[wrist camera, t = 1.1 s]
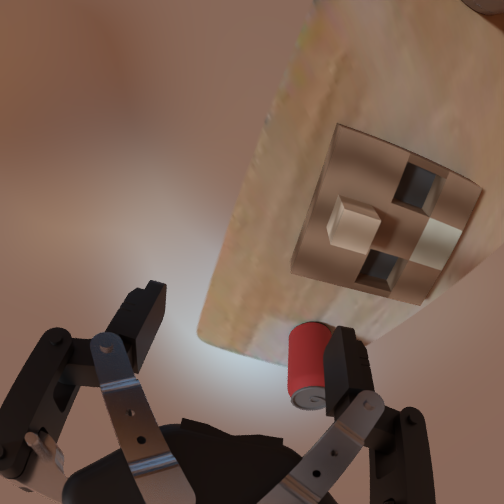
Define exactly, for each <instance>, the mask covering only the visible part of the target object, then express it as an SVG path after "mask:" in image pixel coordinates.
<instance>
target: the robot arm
mask: <svg viewBox="0 0 504 504" xmlns="http://www.w3.org/2000/svg"><path fill="white" fill-rule="evenodd" d="M462 1H463V2H464V3H465V4H466V5H468V6H469V7H470V8H472V9H473V10H475V11H477V12H479V13H482V14H486V15H493V14H499V13H504V0H462ZM166 286H167V285H166V284H164V283H161V282H157V281H153V280H150V281H149V283H148V284H147V286H146V288H145V289H140V288H136V289H134V290H133V291H131V292H130V293H129V294H128V295H127V297H126V299H125V300H124V303H122V305H121V306H120V309H119V310H118V311H117V313H116V314H115V316H114V318H113V319H112V321H111V322H110V324H109V326H108V327H107V329H106V331H105V332H102V333H99V334H97V335H95V336H94V337H93V338H92V339H79V338H72V337H71V334H70V333H69V332H68V331H67V330H66V329H63V328H58V327H56V328H52V329H49V330H47V331H46V332H45V333H44V334H43V335H42V337H41V338H40V340H39V342H38V343H37V345H36V346H35V348H34V350H33V351H32V353H31V355H30V356H29V358H28V360H27V361H26V363H25V365H24V366H23V368H22V370H21V371H20V373H19V375H18V377H17V378H16V380H15V382H14V384H13V385H12V387H11V389H10V391H9V393H8V395H7V397H6V399H5V400H4V402H3V404H2V406H1V408H0V475H1V476H2V477H3V478H5V479H6V480H8V481H9V482H11V483H12V484H13V485H15V486H18V487H19V488H21V489H22V490H24V491H27V492H36V493H38V494H40V495H42V496H44V497H46V498H48V499H50V500H52V501H54V502H56V503H59V504H338V503H337V502H336V501H335V500H334V498H333V497H332V496H331V494H330V493H329V492H328V491H329V489H330V488H331V487H332V486H333V484H334V483H335V482H336V481H337V480H338V479H339V477H340V476H341V475H342V473H343V472H344V471H345V470H346V468H347V467H348V466H349V464H350V463H351V462H352V460H353V459H354V458H355V456H356V455H357V454H358V452H359V451H360V450H361V448H362V447H363V446H365V447H368V448H369V459H370V504H436V502H435V501H436V500H435V489H434V480H433V471H432V463H431V455H430V448H429V442H428V437H427V430H426V424H425V419H424V416H423V415H422V413H421V412H420V411H419V410H418V409H416V408H413V407H406V408H404V409H403V410H402V411H401V412H400V411H397V410H395V409H392V408H389V407H387V406H385V405H384V401H383V399H382V398H381V396H380V395H378V394H377V393H376V392H375V390H374V385H373V380H372V374H371V369H370V367H369V366H370V364H369V360H368V354H367V349H366V348H365V346H364V345H363V343H362V341H359V340H356V335H355V330H354V329H353V328H349V327H343V326H337V328H336V329H335V331H334V333H333V335H332V337H331V338H330V340H329V342H328V344H327V346H326V347H325V350H324V354H323V366H324V382H325V401H326V416H331V417H334V420H335V422H334V423H333V424H332V425H331V426H330V428H329V429H328V430H327V431H326V432H325V433H324V434H323V435H322V437H321V438H320V439H319V440H318V441H317V442H316V443H315V444H314V445H313V446H312V448H311V449H310V450H309V451H308V452H307V453H306V454H305V455H304V456H303V457H301V456H300V455H299V454H297V453H296V452H295V451H293V450H292V449H290V448H288V447H286V446H284V445H283V438H277V437H270V436H264V435H241V436H240V435H238V436H234V435H230V434H228V433H225V432H223V431H221V430H219V429H217V428H214V427H212V426H210V425H208V424H205V423H201V422H197V421H193V420H189V419H185V418H182V422H181V424H168V425H163V426H158V424H157V422H156V419H155V417H154V415H153V413H152V410H151V408H150V406H149V403H148V402H147V399H146V396H145V394H144V391H143V389H142V386H141V384H140V382H139V380H138V379H136V377H135V375H134V373H137V374H138V373H139V371H140V369H141V367H142V364H143V362H144V360H145V357H146V355H147V353H148V351H149V349H150V346H151V344H152V342H153V340H154V338H155V335H156V333H157V331H158V329H159V327H160V325H161V322H162V320H163V317H164V313H165V304H166V289H167V287H166ZM80 386H90V387H100V388H101V392H102V395H103V398H104V402H105V405H106V408H107V411H108V414H109V417H110V420H111V423H112V426H113V429H114V432H115V434H116V437H117V440H118V443H119V445H120V449H118V450H116V451H114V452H112V453H111V454H109V455H107V456H105V457H103V458H101V459H100V460H98V461H96V462H94V463H92V464H90V465H88V466H87V467H84V468H83V469H80V470H79V471H77V472H75V473H74V474H72V475H71V476H70V477H69V478H67V477H66V476H65V474H64V470H63V465H64V455H63V452H62V451H61V449H60V448H59V447H58V445H57V441H58V438H59V436H60V433H61V431H62V428H63V426H64V423H65V421H66V419H67V416H68V414H69V412H70V409H71V407H72V404H73V402H74V400H75V398H76V395H77V393H78V391H79V388H80Z"/></svg>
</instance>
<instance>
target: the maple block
mask: <svg viewBox="0 0 504 504" xmlns="http://www.w3.org/2000/svg"><path fill="white" fill-rule="evenodd" d="M380 223H381V219H380V218H379V216H378V214H377V213H376V211H375V209H374V208H373V206H372V205H369V204H366V203H363V202H360V201H357V200H354V199H351V198H348V197H345V196H342V195H338V198H337V200H336V203H335V206H334V208H333V211H332V214H331V216H330V219H329V222H328V224H327V232H328V236H329V240H330V245H334V246H337V247H341V248H344V249H348V250H351V251H355V252H358V253H362V254H365V255H366V254H367V252H368V249H369V247H370V245H371V243H372V241H373V239H374V236H375V234H376V232H377V230H378V227H379V225H380Z"/></svg>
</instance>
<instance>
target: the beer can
mask: <svg viewBox="0 0 504 504" xmlns="http://www.w3.org/2000/svg"><path fill="white" fill-rule="evenodd" d="M331 337H332V334H331V332H330V330H329V329H328V328H327V327H326V326H324V325H322V324H320V323H315V322H307V323H304V324H301V325H299V326H297V327H295V328H294V329H293V330H292V331H291V333H290V335H289V355H288V384H287V385H288V393H289V395H290V397H291V403H292V404H293V405H294V406H295V407H297V408H299V409H302V410H319V409H322V408H325V407H326V401H325V382H324V366H323V354H324V350H325V347H326V346H327V344H328V342H329V340H330V338H331Z"/></svg>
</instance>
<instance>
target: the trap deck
mask: <svg viewBox="0 0 504 504" xmlns="http://www.w3.org/2000/svg"><path fill="white" fill-rule="evenodd" d="M481 190H482V188H481V187H480V186H478V185H477V184H476V183H474V182H473V181H471V180H470V179H468V178H466V177H464V176H462V175H460V174H458V173H456V172H454V171H452V170H450V169H448V168H446V167H444V166H442V165H440V164H438V163H436V162H433V161H431V160H429V159H427V158H425V157H422V156H420V155H418V154H416V153H413V152H411V151H409V150H407V149H404V148H402V147H399V146H397V145H395V144H392V143H390V142H387V141H385V140H382V139H380V138H377V137H374V136H372V135H369V134H366V133H364V132H361V131H358V130H355V129H353V128H350V127H347V126H344V125H341V124H338V123H337V125H336V128H335V131H334V134H333V137H332V141H331V144H330V147H329V150H328V153H327V156H326V159H325V162H324V165H323V168H322V171H321V174H320V177H319V180H318V183H317V186H316V189H315V192H314V195H313V198H312V201H311V204H310V207H309V210H308V213H307V216H306V218H305V221H304V224H303V227H302V230H301V233H300V236H299V238H298V241H297V244H296V247H295V250H294V252H293V255H292V258H291V274H295V275H299V276H303V277H307V278H311V279H315V280H319V281H323V282H327V283H330V284H334V285H338V286H342V287H346V288H350V289H354V290H358V291H362V292H366V293H370V294H374V295H378V296H382V297H386V298H390V299H394V300H398V301H402V302H406V303H410V304H414V305H419V306H420V305H421V304H422V302H423V301H424V299H425V298H426V296H427V294H428V293H429V291H430V289H431V288H432V286H433V284H434V283H435V281H436V279H437V278H438V276H439V274H440V272H441V271H442V269H443V267H444V265H445V264H446V262H447V260H448V258H449V256H450V255H451V253H452V251H453V249H454V247H455V245H456V243H457V241H458V239H459V237H460V235H461V233H462V231H463V229H464V227H465V225H466V223H467V221H468V219H469V217H470V215H471V213H472V211H473V208H474V206H475V204H476V202H477V199H478V197H479V195H480V193H481ZM338 195H342V196H345V197H348V198H351V199H354V200H357V201H360V202H363V203H366V204H369V205H372V206H373V208H374V209H375V211H376V213H377V214H378V216H379V218H380V219H381V223H380V225H379V227H378V230H377V232H376V234H375V236H374V239H373V241H372V243H371V245H370V247H369V249H368V252H367V254H366V255H365V254H362V253H358V252H355V251H351V250H348V249H344V248H341V247H337V246H334V245H330V240H329V236H328V232H327V224H328V222H329V219H330V216H331V214H332V211H333V208H334V206H335V203H336V200H337V198H338Z"/></svg>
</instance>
